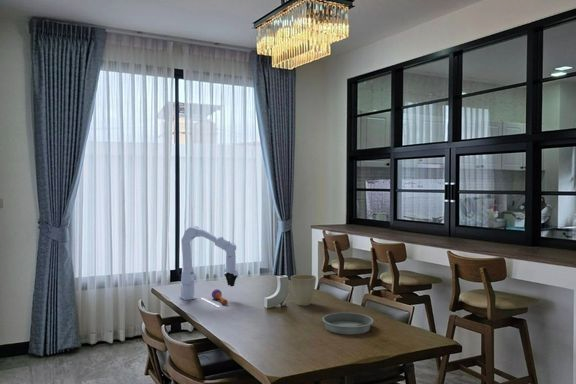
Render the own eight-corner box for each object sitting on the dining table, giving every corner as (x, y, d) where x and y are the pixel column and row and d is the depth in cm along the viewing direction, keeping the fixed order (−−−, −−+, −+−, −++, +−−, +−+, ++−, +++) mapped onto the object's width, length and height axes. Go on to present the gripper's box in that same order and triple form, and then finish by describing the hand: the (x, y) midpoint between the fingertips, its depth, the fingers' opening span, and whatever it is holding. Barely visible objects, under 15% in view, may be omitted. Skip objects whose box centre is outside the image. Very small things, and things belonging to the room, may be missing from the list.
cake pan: (333, 338, 220) (333, 328, 220) (315, 323, 244) (315, 314, 244) (382, 333, 227) (382, 323, 226) (360, 319, 250) (360, 310, 250)
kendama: (219, 299, 278) (209, 289, 296) (221, 308, 279) (211, 298, 297) (229, 296, 281) (219, 287, 299) (230, 305, 282) (220, 296, 300)
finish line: (200, 298, 296) (200, 298, 296) (203, 298, 297) (203, 297, 297) (217, 307, 274) (217, 307, 274) (221, 306, 275) (221, 306, 275)
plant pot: (310, 300, 291) (310, 273, 291) (320, 306, 277) (320, 278, 277) (287, 302, 286) (287, 275, 286) (295, 308, 272) (295, 279, 272)
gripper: (242, 264, 289) (242, 287, 289) (231, 261, 301) (231, 282, 301) (231, 265, 285) (231, 288, 285) (221, 262, 297) (221, 284, 297)
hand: (230, 285), depth 293 cm, fingers open, 3 cm apart
